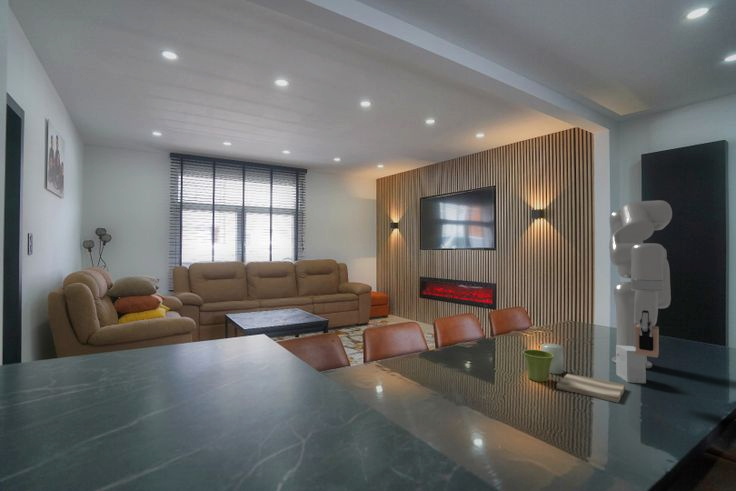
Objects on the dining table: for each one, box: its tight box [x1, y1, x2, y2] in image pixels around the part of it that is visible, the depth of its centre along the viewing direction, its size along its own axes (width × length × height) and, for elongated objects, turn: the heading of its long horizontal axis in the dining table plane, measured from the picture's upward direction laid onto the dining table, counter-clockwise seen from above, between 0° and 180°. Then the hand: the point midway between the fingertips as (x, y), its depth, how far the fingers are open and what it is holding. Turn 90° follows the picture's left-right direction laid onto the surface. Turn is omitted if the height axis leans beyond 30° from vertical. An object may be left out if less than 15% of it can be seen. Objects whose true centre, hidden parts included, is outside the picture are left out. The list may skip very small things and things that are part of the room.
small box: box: [615, 344, 647, 384], centre depth 124 cm, size 8×6×10 cm
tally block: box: [636, 324, 660, 358], centre depth 107 cm, size 5×5×8 cm
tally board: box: [556, 372, 626, 404], centre depth 114 cm, size 14×16×2 cm
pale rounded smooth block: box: [541, 343, 565, 375], centre depth 132 cm, size 7×7×9 cm
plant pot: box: [522, 349, 554, 383], centre depth 123 cm, size 9×9×9 cm
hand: (647, 347), depth 107 cm, fingers closed on tally block, 5 cm apart
